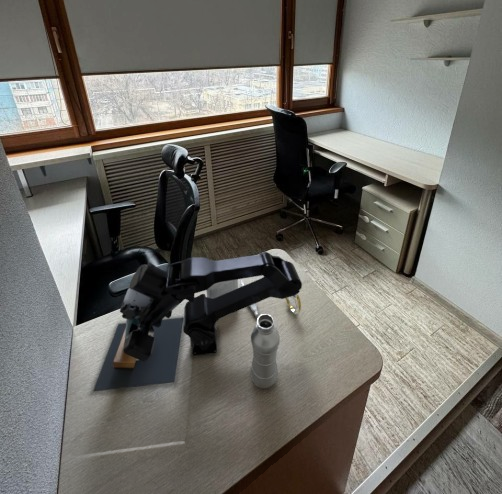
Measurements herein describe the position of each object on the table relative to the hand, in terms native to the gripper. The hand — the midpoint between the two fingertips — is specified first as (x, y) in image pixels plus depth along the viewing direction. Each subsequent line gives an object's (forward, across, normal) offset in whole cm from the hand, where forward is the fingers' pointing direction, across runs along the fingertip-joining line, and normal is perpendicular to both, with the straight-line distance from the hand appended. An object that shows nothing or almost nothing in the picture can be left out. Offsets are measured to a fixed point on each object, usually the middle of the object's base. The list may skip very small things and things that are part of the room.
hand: (128, 334), depth 70 cm
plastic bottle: (-19, +9, +30) cm, 36 cm away
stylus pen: (-17, -10, +25) cm, 32 cm away
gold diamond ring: (-27, -8, +37) cm, 47 cm away
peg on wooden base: (+5, 0, +4) cm, 6 cm away
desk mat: (+3, 0, +7) cm, 8 cm away
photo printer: (-12, -13, +22) cm, 28 cm away
